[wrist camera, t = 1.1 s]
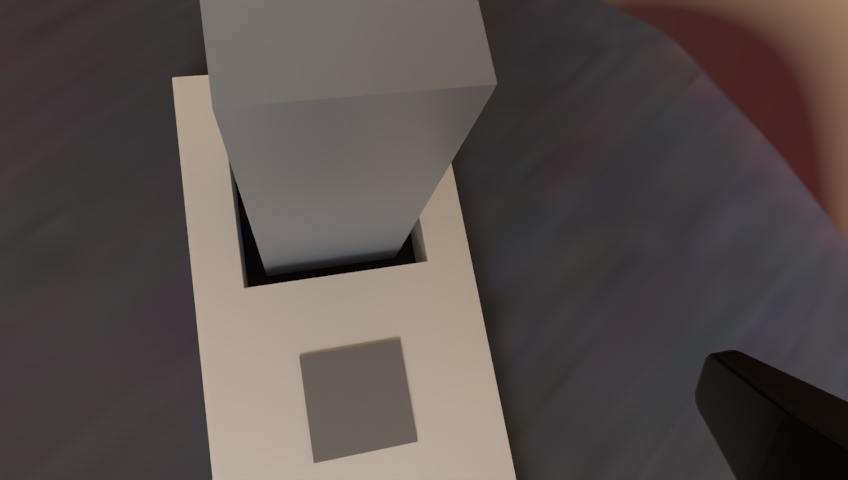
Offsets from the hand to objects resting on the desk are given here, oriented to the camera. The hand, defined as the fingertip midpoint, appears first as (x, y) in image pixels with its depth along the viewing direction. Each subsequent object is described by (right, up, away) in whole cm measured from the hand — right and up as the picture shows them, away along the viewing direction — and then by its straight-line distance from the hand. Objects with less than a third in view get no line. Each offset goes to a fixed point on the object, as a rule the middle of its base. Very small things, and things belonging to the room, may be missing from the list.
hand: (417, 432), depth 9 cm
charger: (-4, +4, +14) cm, 15 cm away
